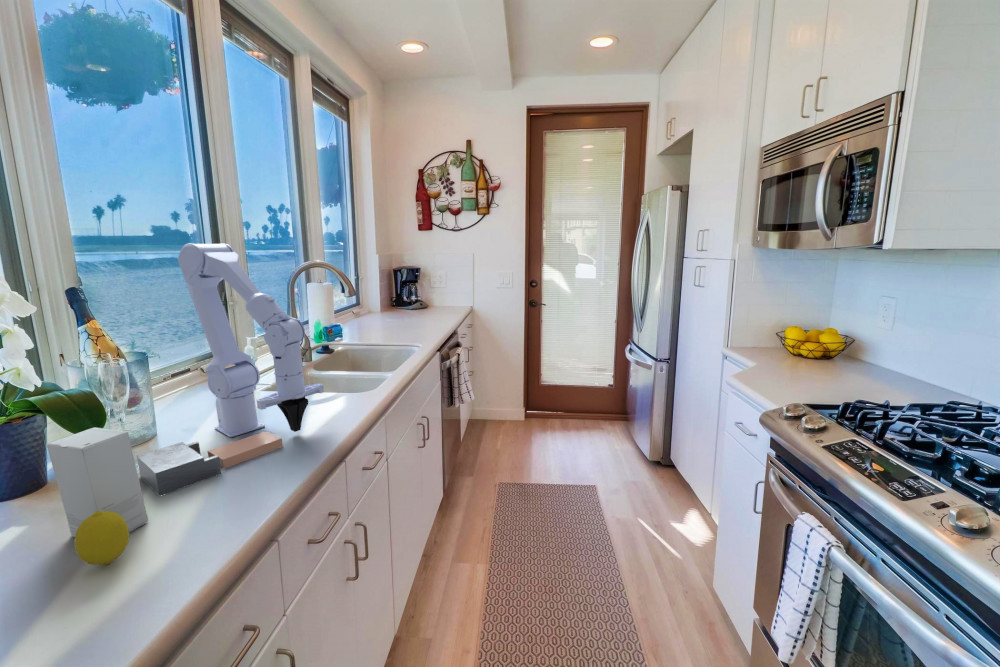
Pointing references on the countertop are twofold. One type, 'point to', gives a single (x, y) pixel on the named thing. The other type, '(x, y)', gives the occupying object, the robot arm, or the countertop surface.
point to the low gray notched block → (176, 467)
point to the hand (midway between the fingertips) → (295, 429)
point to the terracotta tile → (246, 448)
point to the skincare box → (97, 476)
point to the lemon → (101, 538)
